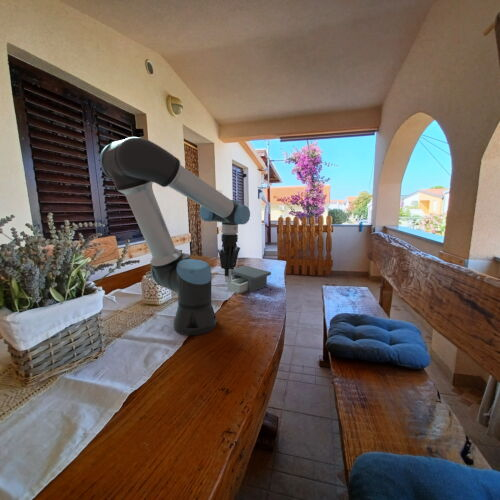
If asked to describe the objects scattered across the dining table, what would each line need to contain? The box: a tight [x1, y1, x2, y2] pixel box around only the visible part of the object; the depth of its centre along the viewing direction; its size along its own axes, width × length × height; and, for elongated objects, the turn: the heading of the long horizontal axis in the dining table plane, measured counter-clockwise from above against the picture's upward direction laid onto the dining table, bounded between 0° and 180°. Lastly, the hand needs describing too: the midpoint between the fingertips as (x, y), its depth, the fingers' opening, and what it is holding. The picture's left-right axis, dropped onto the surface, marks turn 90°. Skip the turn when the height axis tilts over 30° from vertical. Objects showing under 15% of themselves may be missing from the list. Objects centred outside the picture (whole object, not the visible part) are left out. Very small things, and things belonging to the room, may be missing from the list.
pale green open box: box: [227, 277, 249, 295], centre depth 131 cm, size 16×8×4 cm, turn 139°
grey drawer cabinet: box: [231, 265, 272, 293], centre depth 134 cm, size 13×18×8 cm
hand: (228, 282), depth 121 cm, fingers closed
